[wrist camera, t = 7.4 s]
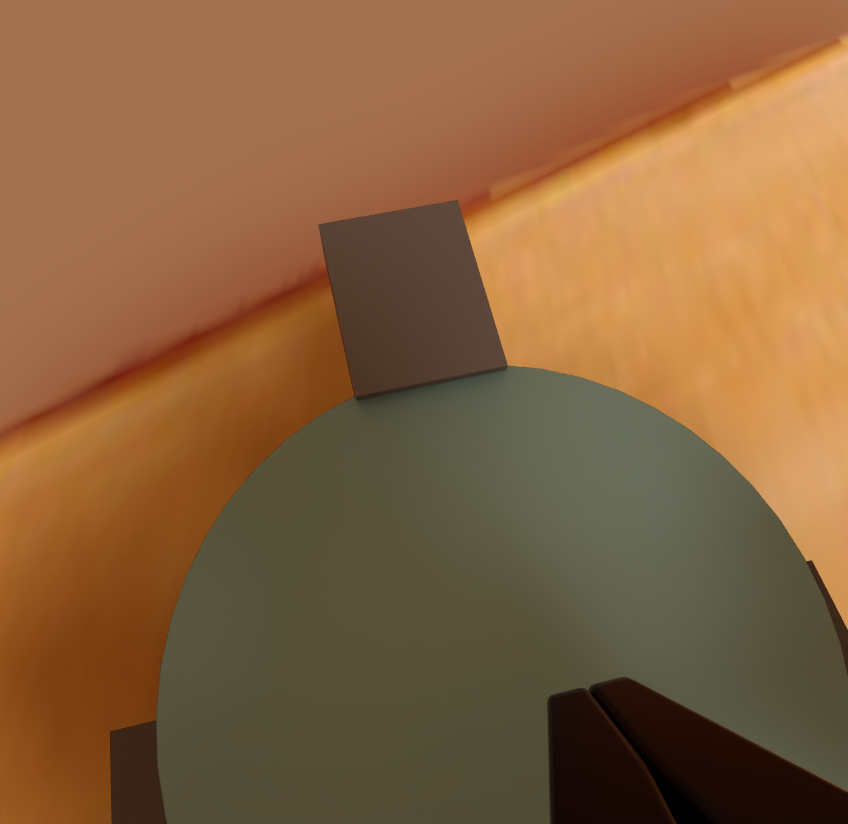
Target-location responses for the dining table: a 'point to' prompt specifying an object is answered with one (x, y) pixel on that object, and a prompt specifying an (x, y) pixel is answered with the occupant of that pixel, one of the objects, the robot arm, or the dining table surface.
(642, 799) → the robot arm
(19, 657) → the dining table surface
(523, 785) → the lid
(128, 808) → the cooker pot
